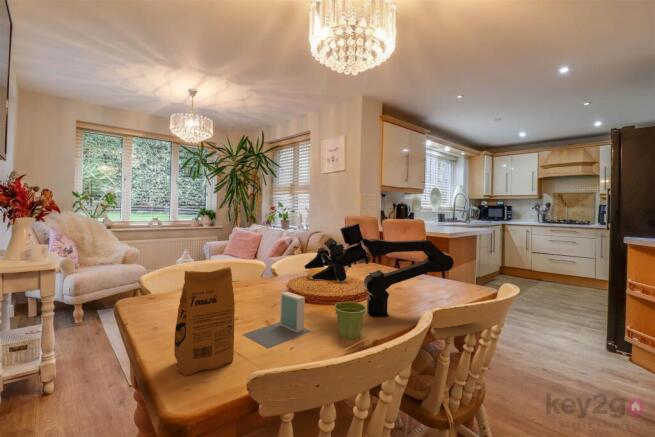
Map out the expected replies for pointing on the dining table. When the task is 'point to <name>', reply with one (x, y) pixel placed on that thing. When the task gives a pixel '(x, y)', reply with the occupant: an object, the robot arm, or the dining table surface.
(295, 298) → the white flat block
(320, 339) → the dining table surface
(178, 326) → the coffee package
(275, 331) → the mat
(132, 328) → the dining table surface
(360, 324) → the plant pot
